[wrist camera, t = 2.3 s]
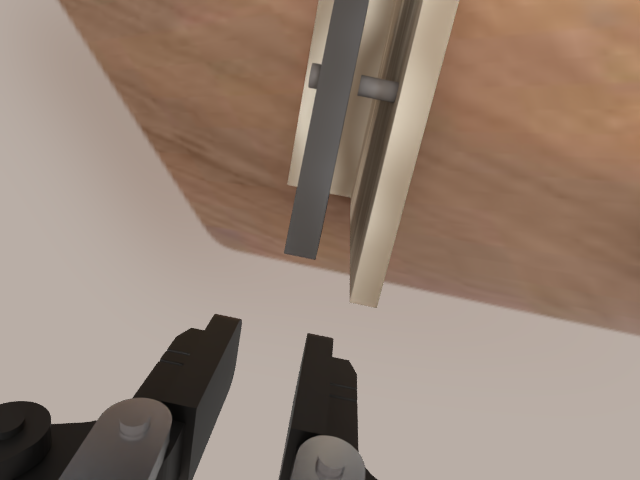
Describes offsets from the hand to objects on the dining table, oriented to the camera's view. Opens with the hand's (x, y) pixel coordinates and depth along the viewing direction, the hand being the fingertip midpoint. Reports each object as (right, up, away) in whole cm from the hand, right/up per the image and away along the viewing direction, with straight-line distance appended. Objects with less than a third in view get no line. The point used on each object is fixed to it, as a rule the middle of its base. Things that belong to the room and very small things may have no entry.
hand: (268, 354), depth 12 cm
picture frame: (+2, +12, +23) cm, 26 cm away
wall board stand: (+6, +19, +32) cm, 38 cm away
